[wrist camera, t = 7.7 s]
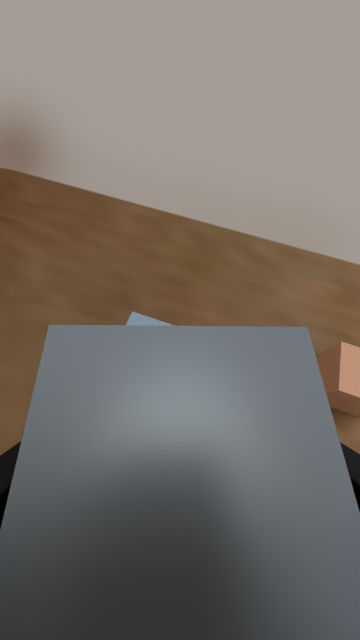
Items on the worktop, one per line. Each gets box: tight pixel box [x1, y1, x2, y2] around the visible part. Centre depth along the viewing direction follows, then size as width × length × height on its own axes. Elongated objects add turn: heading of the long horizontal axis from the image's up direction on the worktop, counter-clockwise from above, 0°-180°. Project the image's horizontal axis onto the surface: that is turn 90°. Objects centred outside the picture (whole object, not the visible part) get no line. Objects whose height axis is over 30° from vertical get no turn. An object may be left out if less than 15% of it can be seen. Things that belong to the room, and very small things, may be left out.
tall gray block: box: [0, 325, 360, 640], centre depth 9 cm, size 6×6×10 cm
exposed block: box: [316, 342, 360, 417], centre depth 21 cm, size 4×4×4 cm
